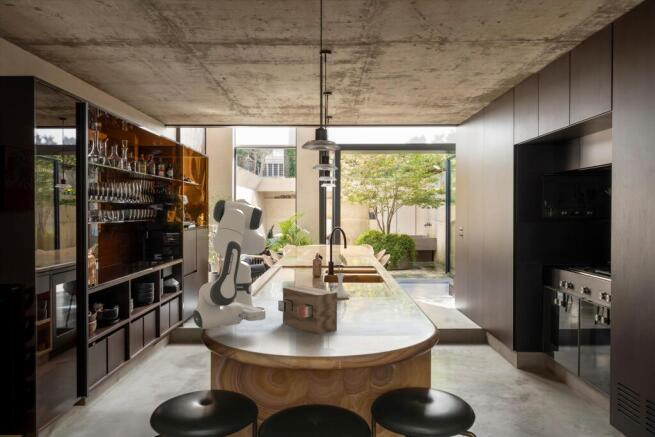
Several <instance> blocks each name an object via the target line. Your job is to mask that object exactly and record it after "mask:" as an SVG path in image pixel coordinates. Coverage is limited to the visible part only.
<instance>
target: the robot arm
mask: <svg viewBox="0 0 655 437" xmlns="http://www.w3.org/2000/svg"><path fill="white" fill-rule="evenodd" d="M212 209H213V210H212V217H213V219H214V220H215V222H217V223H219V224H218V226H217V230H216V233H215V237H214V238H213V240H212V241H213V242H212V245H213V248H214V251H215V252H216V253H217V254H219V255H220V256H221V257H222V258H223V260H222V264H221V265H222V266H221V270H220V274H219V277H218V278H217V279H216V280H215V281H214V280H213V281H208V282H206V283H203V284H202V285H201V286H200V288H198V289H199V290H198V294H197V295H198V300H197V304H196V307H195V308H194V310H193V314H192V317H193V318H192V319H193V322H194V323H195V325H196V326H197V327H198V328H200V329H204V330H206V329H207V330H209V329H216V328H217V329H218V328H220V327H223V326H225V327H227V326H236V325H240V324H241V323H242V321H243V320H244V321H247V322H254V321H255V322H256V321H262V320H263V321H264V320H265V319H266V310H265V307H262V306H254V305H253V299H252V291H253V286H252V268H251V265H250V264H249V263H247V262H245V261H243V260H242V259H241V255H255V254H261V253H262V252H264V250H265V248H266V245H267V241H266V238H265V236H264V235H263V234H262V233H261V232H258V231H257V230H258V229H259V228H260V227H261V226H262V224H263V222H264V211H263V209H262V208H260V207H259V206H256V205H255V206H253V204H252V202H251V201H249V199H245V198H239V199H236V200H235V201H232V200H227V199H219V200H218V201H217V202H216V203H215V204H214V206H213V208H212Z"/></svg>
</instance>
